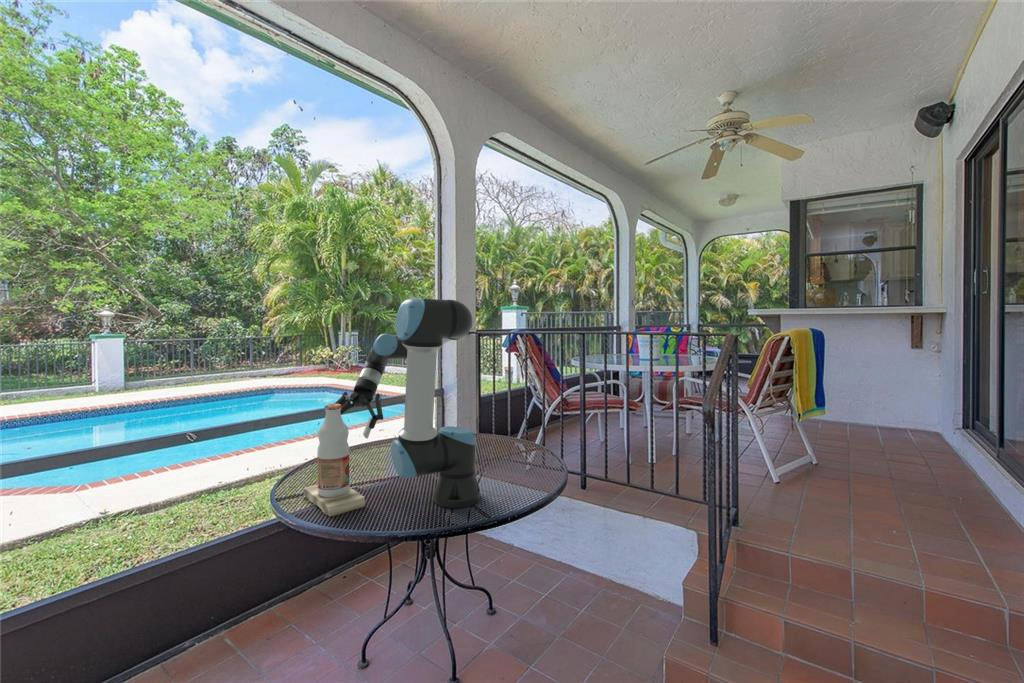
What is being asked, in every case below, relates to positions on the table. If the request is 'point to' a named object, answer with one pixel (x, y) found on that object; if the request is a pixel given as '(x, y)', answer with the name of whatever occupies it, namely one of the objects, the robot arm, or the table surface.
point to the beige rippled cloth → (335, 501)
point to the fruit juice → (333, 454)
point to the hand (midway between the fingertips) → (346, 435)
